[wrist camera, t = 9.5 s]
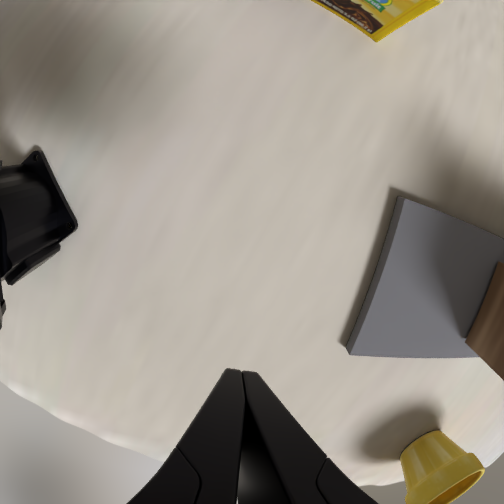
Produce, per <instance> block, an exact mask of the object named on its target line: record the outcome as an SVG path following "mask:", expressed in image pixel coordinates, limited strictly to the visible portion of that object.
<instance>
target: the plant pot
mask: <svg viewBox="0 0 504 504" xmlns="http://www.w3.org/2000/svg"><path fill="white" fill-rule="evenodd" d="M400 461H401V465H402V469H403V474H404V478H405V483H406V488H407V493H408V494H407V495H406V497H405V502H406V504H449V503H451V502H452V501H454V500H455V499H457V498H458V497H459V496H461V495H462V494H463V493H465V492H466V491H467V490H468V489H470V488H471V487H472V486H473V485H474V484H475V483H476V482H477V481H478V480H479V479H480V478H481V477H482V475H483V474H484V472H485V469H484V467H483V465H482V464H481V462H480V461H479V460H478V458H477V457H476V456H475V455H474V454H473V453H466V452H465V451H464V450H463V449H461V448H460V447H459V446H458V445H457V444H455V443H454V442H453V441H452V440H451V439H449V438H448V437H447V436H446V435H445V434H444V433H443V432H441V431H432V432H429V433H427V434H425V435H423V436H421V437H419V438H418V439H416V440H415V441H414V442H412V443H411V444H410V445H409V446H408V447H407V448H406V449H405V450H404V451H403V452H402V454H401V456H400Z"/></svg>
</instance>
